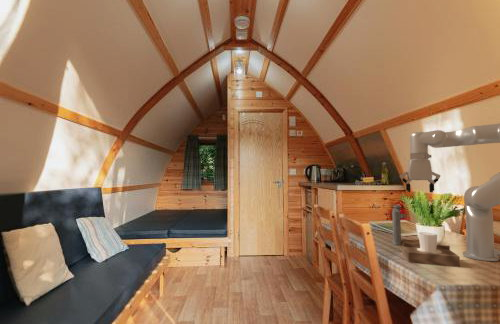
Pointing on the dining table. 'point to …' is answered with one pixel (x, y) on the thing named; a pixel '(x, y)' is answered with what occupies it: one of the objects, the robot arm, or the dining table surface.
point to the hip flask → (396, 225)
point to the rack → (430, 255)
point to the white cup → (428, 242)
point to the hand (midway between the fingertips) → (419, 192)
